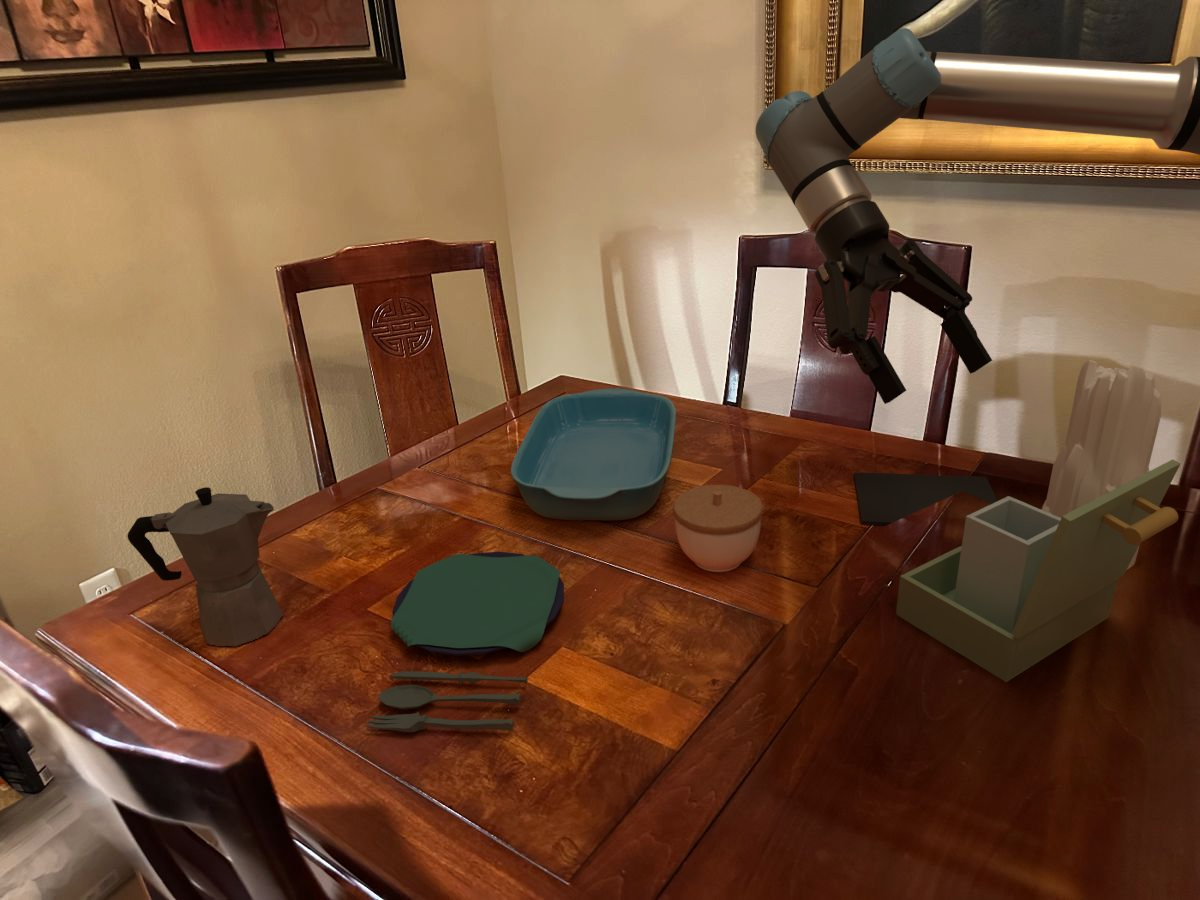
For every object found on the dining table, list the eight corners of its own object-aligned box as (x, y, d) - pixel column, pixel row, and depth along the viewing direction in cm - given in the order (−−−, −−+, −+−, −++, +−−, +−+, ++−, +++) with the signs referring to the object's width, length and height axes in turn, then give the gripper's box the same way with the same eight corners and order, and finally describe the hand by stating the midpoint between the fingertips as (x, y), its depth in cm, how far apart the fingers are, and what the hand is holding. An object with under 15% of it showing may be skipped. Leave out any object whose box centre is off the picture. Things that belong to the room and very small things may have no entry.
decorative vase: (1039, 522, 108) (1074, 336, 97) (1136, 541, 103) (1184, 346, 92) (1028, 564, 100) (1066, 366, 89) (1133, 587, 95) (1186, 380, 84)
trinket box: (778, 554, 105) (780, 488, 101) (727, 594, 98) (727, 524, 94) (708, 527, 112) (708, 464, 108) (657, 562, 105) (654, 496, 101)
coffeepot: (305, 591, 104) (271, 461, 96) (296, 638, 96) (259, 499, 88) (173, 613, 102) (128, 481, 94) (152, 662, 93) (101, 522, 86)
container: (951, 611, 92) (965, 515, 87) (992, 588, 95) (1008, 495, 90) (1009, 644, 86) (1028, 544, 81) (1051, 619, 90) (1071, 522, 84)
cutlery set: (577, 565, 106) (576, 549, 105) (532, 742, 79) (530, 724, 78) (425, 562, 108) (422, 547, 107) (331, 734, 82) (326, 716, 81)
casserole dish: (667, 541, 109) (665, 493, 106) (500, 538, 113) (494, 491, 110) (680, 425, 142) (680, 386, 139) (551, 426, 146) (547, 387, 142)
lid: (1061, 516, 72) (1111, 545, 68) (1172, 459, 79) (1221, 483, 76) (1011, 633, 79) (1053, 664, 76) (1116, 571, 87) (1158, 597, 84)
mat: (985, 480, 119) (986, 476, 119) (1008, 531, 107) (1009, 527, 106) (853, 475, 123) (853, 472, 122) (861, 524, 110) (861, 520, 110)
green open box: (895, 619, 92) (899, 575, 90) (995, 565, 100) (1002, 524, 98) (1005, 687, 82) (1013, 640, 79) (1108, 621, 90) (1118, 577, 87)
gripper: (898, 223, 103) (989, 371, 98) (740, 257, 92) (834, 427, 86) (939, 182, 97) (1039, 338, 91) (776, 213, 85) (879, 394, 80)
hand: (940, 382), depth 89 cm, fingers open, 13 cm apart
